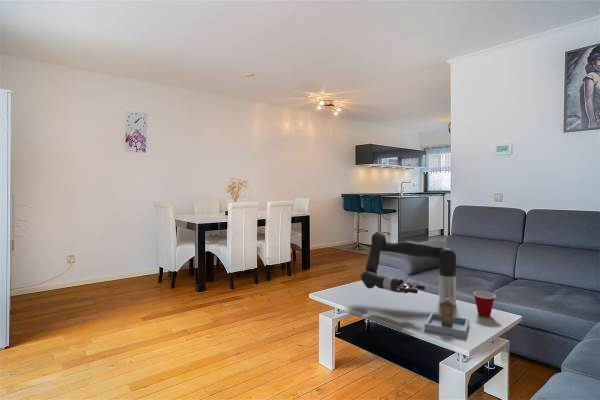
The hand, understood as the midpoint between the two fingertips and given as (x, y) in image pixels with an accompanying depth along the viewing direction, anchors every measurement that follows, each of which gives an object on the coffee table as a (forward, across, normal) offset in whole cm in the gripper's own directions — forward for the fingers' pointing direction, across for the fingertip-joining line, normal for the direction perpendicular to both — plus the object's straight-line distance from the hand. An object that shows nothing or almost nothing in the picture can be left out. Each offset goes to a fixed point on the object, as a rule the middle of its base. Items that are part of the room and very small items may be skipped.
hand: (421, 289), depth 176 cm
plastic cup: (+21, -30, -17) cm, 40 cm away
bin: (+14, +1, -16) cm, 21 cm away
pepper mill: (+13, +1, -16) cm, 21 cm away
